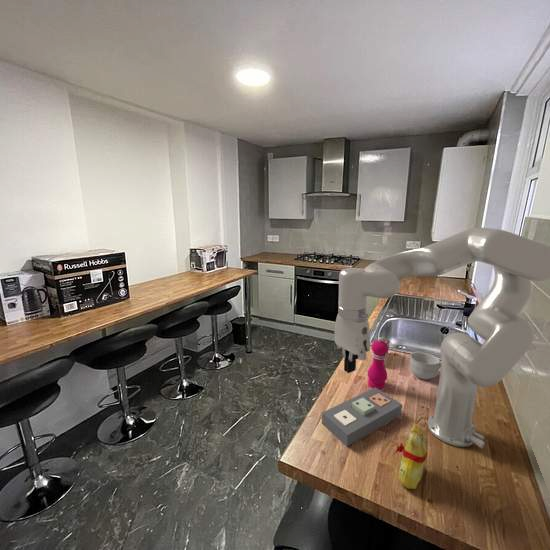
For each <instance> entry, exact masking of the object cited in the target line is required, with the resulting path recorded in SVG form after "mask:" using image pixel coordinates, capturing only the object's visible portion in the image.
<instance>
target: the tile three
mask: <svg viewBox="0 0 550 550" xmlns="http://www.w3.org/2000/svg"><path fill="white" fill-rule="evenodd" d="M369 400H371V401H372V402H373V403H375V404H376V405H378V406H379V407H383V406H385V405H387V404H389V403H390V402H391V401H390V400H388V399H387V398H385V397H384V396H382V395H381V394H379V393H378V394H376V395H374V396H372V397H370V398H369Z"/></svg>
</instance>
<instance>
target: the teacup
mask: <svg viewBox="0 0 550 550" xmlns="http://www.w3.org/2000/svg"><path fill="white" fill-rule="evenodd" d="M409 356H410V357H409V360H410V361H409V370H410V371H411V373H412V374H413V375H414V376H415V377H417V378H419V379H421V380H432V379H434V378H436V377H440V373H441V371H439V369H441V359H439V358H438V357H437V356H435V355H433V354H431V353H426V352H417V351H416V352H413V353H411V354H410V355H409Z"/></svg>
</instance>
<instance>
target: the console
mask: <svg viewBox="0 0 550 550" xmlns="http://www.w3.org/2000/svg"><path fill="white" fill-rule="evenodd" d="M378 393H379V394H381V395H382V396H384V397H385V398H387V399H388V400H390V401H391V402H390V403H389V404H387V405H385V406H383V407H379V406H378V405H376V404H375V403H373V402H372V401H371V400H369V398H370V397H372V396H374V395H376V394H378ZM361 398H364V399H366V400H367V401H368V402H370V403H371V404H373V405H374V406H375V410H374V412H372V413H370V414H368V415H366V416H364V417H363V416H362V415H361V414H359V413H358V412H357V411H356V410H354V409H353V408H352V403H353V402H355V401H357V400H359V399H361ZM343 410H346V411H347V412H349V413H350V414H351V415H352V416H354V417H355V418H356V419H357V421H355V422H353V423H351V424H349V425H348V426H346V427H345V426H343V425H342V424H341V423H340V422H339V421H338V420H336V419H335V418H334V417H333V415H335V414H337V413H339V412H341V411H343ZM402 411H403V404H402V403H401V402H399V401H398V400H396V399H394V398H393V397H391V396H390V395H389V394H387V393H385V392H383V391H382V390H379V389H377V388H376V387H375V388H371V389H369V390H367V391H364V392H362V393H361V394H358V395H356V396H354V397H351V398H350V399H348V400H346V401H344V402H342V403H339V404H337V405H334V406H333V407H331V408H328V409H326V410H323V412H321V424H322V425H323V426H324V428H326V429H327V430H328V431H329V432H330V433H331V434H332V435H334V436H335V438H336V439H337V440H338V441H340V442H341V443H342V444H343V445H344V446H345V447H346V448H347V447H349V446H351V445H353V444H354V443H356V442H357V441H359V440H361V439H363V438H364V437H366V436H368V435H369V434H371V433H372V432H375V431H376V430H378V429H379V428H382V427H383V426H385V425H387V424H389V423H390V422H392V421H393V420H396V419H397V418H398V417H401V416H402Z"/></svg>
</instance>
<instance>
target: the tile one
mask: <svg viewBox="0 0 550 550" xmlns="http://www.w3.org/2000/svg"><path fill="white" fill-rule="evenodd" d="M333 417H334V418H335V419H336V420H338V421H339V422H340V423H341V424H342V425H343V426H345V427H346V426H348V425H349V424H351V423H353V422H355V421H357V419H356V418H355V417H354V416H352V415H351V414H350V413H349V412H347V411H346V410H343V411H341V412H339V413H337V414H335V415H333Z"/></svg>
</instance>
